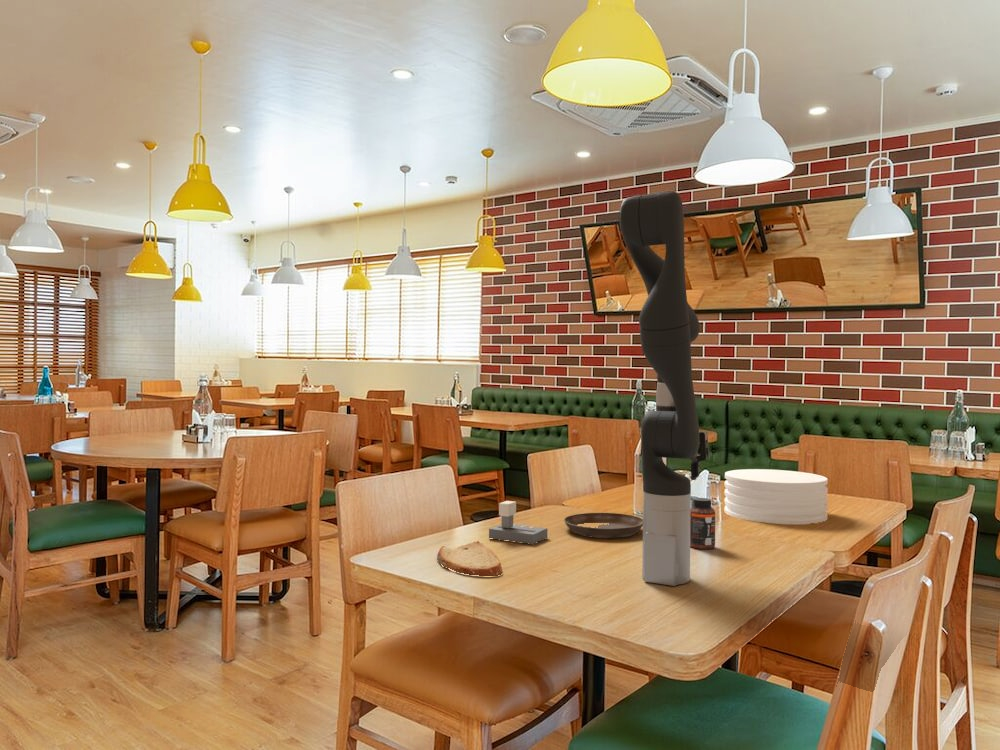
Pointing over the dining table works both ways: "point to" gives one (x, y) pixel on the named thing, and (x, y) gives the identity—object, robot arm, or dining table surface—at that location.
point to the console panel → (518, 533)
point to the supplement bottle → (702, 524)
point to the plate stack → (776, 496)
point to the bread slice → (470, 560)
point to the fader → (507, 513)
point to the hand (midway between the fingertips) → (674, 477)
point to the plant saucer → (617, 525)
